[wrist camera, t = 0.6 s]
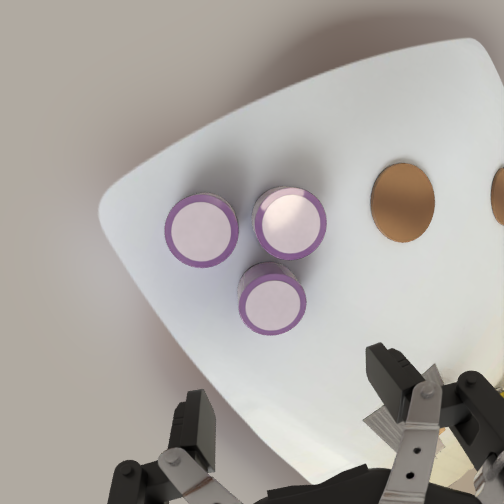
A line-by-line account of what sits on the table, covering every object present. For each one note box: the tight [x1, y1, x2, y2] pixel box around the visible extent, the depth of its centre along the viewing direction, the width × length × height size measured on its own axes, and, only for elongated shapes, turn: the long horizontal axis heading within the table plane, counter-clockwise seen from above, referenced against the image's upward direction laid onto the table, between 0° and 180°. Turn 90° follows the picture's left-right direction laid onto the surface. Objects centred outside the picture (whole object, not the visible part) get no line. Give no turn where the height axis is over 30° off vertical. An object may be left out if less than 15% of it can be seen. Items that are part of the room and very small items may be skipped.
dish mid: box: [251, 186, 327, 260], centre depth 21 cm, size 5×5×3 cm
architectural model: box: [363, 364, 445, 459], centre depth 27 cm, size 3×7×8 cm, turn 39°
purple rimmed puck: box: [165, 192, 239, 268], centre depth 20 cm, size 5×5×3 cm
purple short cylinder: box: [237, 262, 306, 335], centre depth 22 cm, size 5×5×3 cm
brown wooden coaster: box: [371, 163, 435, 243], centre depth 22 cm, size 7×7×1 cm
